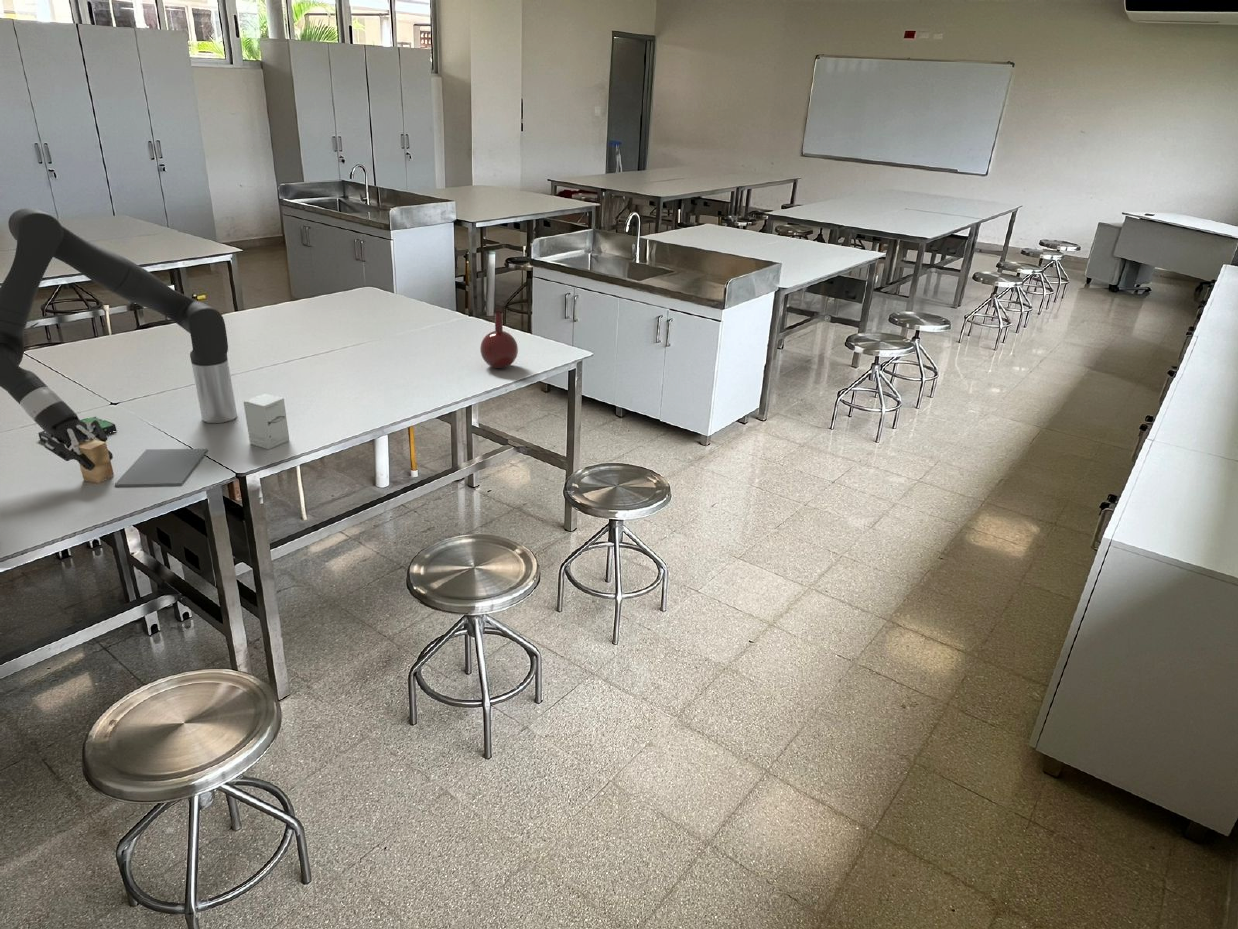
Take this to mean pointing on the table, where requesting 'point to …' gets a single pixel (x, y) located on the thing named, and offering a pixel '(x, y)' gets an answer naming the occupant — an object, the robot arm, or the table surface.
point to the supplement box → (266, 421)
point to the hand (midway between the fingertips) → (101, 463)
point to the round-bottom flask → (499, 346)
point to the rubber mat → (162, 467)
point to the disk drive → (104, 425)
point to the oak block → (96, 461)
